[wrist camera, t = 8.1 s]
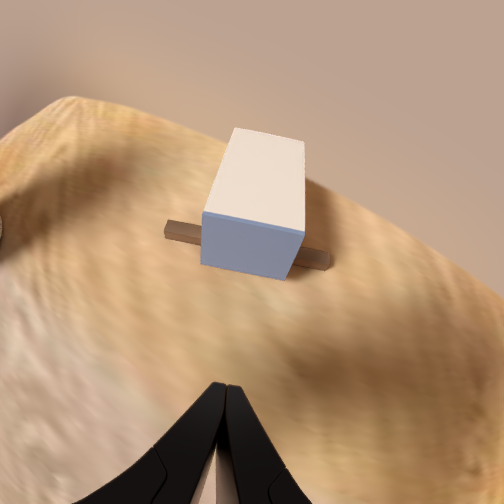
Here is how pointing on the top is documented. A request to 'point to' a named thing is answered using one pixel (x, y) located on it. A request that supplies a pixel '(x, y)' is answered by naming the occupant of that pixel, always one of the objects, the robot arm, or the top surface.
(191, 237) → the strip
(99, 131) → the top surface
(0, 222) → the beige jar
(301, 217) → the plain white block
